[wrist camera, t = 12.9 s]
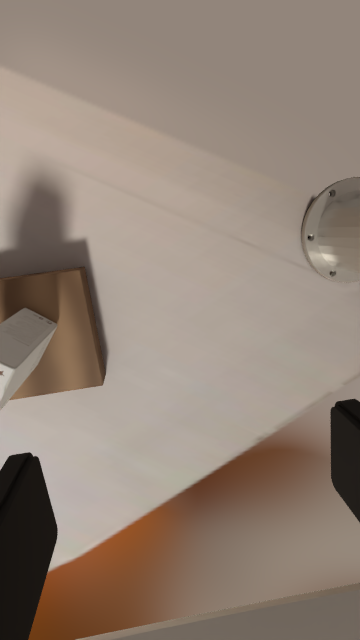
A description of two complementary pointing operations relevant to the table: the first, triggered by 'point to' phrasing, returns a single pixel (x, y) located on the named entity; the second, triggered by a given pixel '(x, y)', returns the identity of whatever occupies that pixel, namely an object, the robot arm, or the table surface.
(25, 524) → the robot arm
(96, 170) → the table surface
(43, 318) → the skincare box
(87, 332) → the walnut base
